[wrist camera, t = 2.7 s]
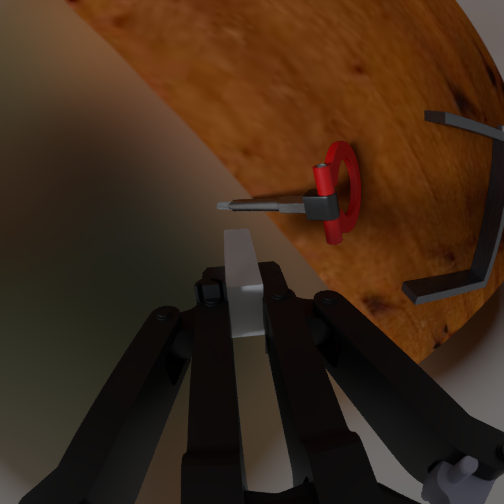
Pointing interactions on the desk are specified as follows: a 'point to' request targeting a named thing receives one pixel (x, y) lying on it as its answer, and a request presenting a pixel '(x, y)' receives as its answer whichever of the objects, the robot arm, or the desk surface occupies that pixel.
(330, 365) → the robot arm
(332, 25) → the desk surface
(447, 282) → the bracket
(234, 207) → the tow hook
